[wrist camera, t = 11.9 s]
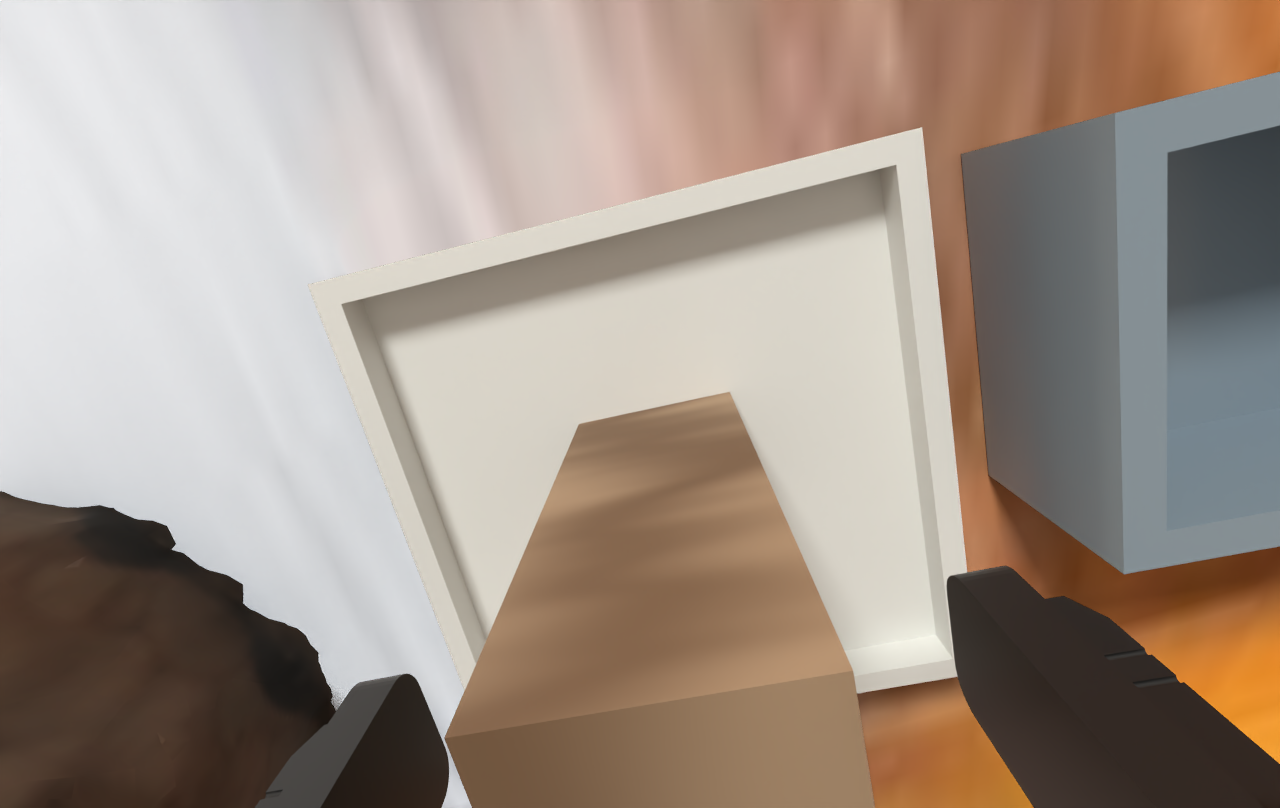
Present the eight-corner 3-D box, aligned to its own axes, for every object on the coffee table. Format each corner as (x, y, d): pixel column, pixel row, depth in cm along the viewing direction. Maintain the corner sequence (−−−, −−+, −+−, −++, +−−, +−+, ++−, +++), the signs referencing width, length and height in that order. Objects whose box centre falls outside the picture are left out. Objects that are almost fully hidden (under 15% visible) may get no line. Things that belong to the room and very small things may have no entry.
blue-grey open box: (1347, 57, 13) (1730, -42, 9) (1320, 409, 16) (1612, 486, 11) (961, 154, 14) (1114, 113, 9) (988, 475, 16) (1123, 574, 12)
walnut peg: (729, 391, 15) (853, 670, 5) (756, 529, 16) (900, 967, 6) (579, 423, 15) (444, 737, 6) (615, 556, 16) (552, 1009, 7)
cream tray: (886, 141, 14) (922, 127, 12) (943, 626, 18) (977, 673, 16) (351, 278, 16) (308, 285, 14) (506, 703, 19) (489, 755, 17)
